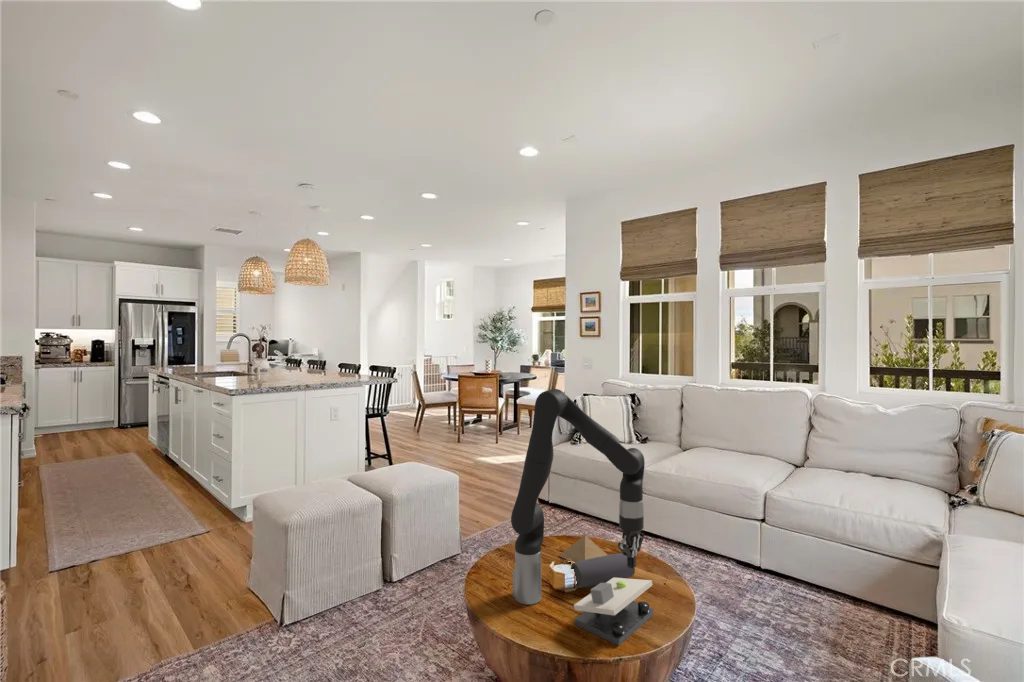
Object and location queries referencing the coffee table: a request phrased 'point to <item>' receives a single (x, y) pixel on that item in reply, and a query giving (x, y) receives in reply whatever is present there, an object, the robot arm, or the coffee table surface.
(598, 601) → the plate
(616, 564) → the bluetooth speaker
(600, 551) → the model pyramid
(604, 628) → the tribrach base
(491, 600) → the coffee table surface
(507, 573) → the coffee table surface
